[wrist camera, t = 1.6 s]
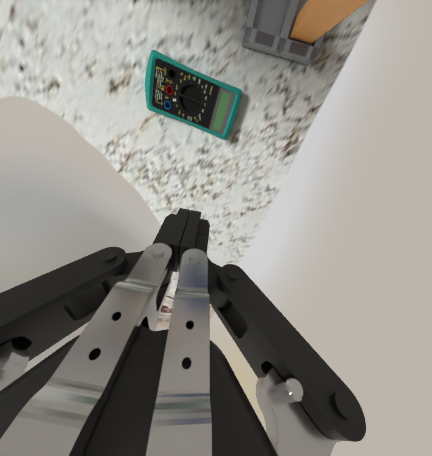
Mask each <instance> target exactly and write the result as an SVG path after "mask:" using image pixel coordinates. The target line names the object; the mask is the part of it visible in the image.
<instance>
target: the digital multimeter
mask: <svg viewBox="0 0 432 456" xmlns="http://www.w3.org/2000/svg"><path fill="white" fill-rule="evenodd" d="M160 59H161V60H160ZM171 64H172V65H171ZM182 69H183V70H182ZM154 71H155V72H154ZM153 83H154V84H153ZM145 92H146V101H147V108H148V109H149V110H150V111H153V112H156V113H159V114H162V115H165V116H168V117H171V118H173V119H176V120H179V121H182V122H184V123H187V124H189V125H192V126H194V127H196V128H199V129H201V130H204V131H206V132H208V133H210V134H212V135H215V136H217V137H219V138H221V139H223V140H225V139H227V137H228V135H229V132H230V130H231V127H232V125H233V122H234V119H235V117H236V114H237V110H238V107H239V103H240V99H241V96H242V91H241V90H240V89H238V88H236V87H233V86H231V85H228V84H225V83H223V82H220V81H218V80H215V79H213V78H211V77H208V76H206V75H204V74H201V73H199V72H197V71H195V70H193V69H191V68H189V67H187V66H185V65H183V64H180V63H178V62H176V61H174V60H172V59H171V58H169V57H167V56H165V55H163V54H161V53H159V52H157V51H155V50H152V51H151V54H150V57H149V61H148V65H147V70H146V77H145ZM152 95H153V96H152ZM235 96H236V97H235ZM234 99H235V100H234ZM162 110H163V111H162ZM167 112H168V113H167Z"/></svg>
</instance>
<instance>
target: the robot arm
mask: <svg viewBox="0 0 432 456" xmlns="http://www.w3.org/2000/svg"><path fill="white" fill-rule="evenodd" d="M200 217H201V212H199V211H193V210H191V212H190V210H188V209H182V208H179V211H178V213H177V215H175V214H170V215H169V216H167V217H166V218H165V220H164V222H163V224H162V226H161V228H160V230H159V233H158V234H157V236H156V238H155V240H154V242H153V244H152V245H150V246H149V247H147V248H146V249H145V250H144V251H141V252H135V253H125V251H124V250H123V249H121V248H119V247H108V248H105V249H102V250H100V251H98V252H95V253H93V254H91V255H88V256H86V257H84V258H81V259H79V260H77V261H74V262H72V263H70V264H67V265H65V266H63V267H60V268H58V269H56V270H53V271H51V272H49V273H46V274H44V275H42V276H39V277H37V278H35V279H32V280H30V281H28V282H25V283H23V284H21V285H18V286H16V287H14V288H11V289H9V290H7V291H4V292H2V293H0V456H330V454H331V451H332V449H333V447H334V445H335V443H336V442H340V441H356V442H357V441H360V440H362V439H363V437H364V435H365V432H366V423H365V417H364V414H363V411H362V409H361V407H360V404H359V402H358V401H357V399H356V397H355V396H354V394H353V393H352V392H351V390H350V389H349V388H348V387H347V386H346V385H345V384H344V382H343V381H342V380H341V379H340V378H339V377H338V376H337V375H336V374H335V373H334V371H333V370H332V369H331V368H330V367H329V366H328V365H327V364H326V362H325V361H324V360H323V359H322V358H321V357H320V356H319V355H318V354H317V352H316V351H315V350H314V349H313V348H312V347H311V346H310V345H309V343H308V342H307V341H306V340H305V339H304V338H303V337H302V336H301V335H300V333H299V332H298V331H297V330H296V329H295V328H294V327H293V326H292V325H291V323H290V322H289V321H288V320H287V319H286V318H285V317H284V316H283V315H282V313H281V312H280V311H279V310H278V309H277V308H276V307H275V306H274V305H273V304H272V302H271V301H270V300H269V299H268V298H267V297H266V296H265V295H264V293H262V291H261V290H260V289H259V288H258V287H257V286H256V285H255V283H254V282H253V281H252V280H251V279H250V278H249V277H248V276H247V275H246V273H245V272H244V271H243V270H242V269H241V268H240V267H238V266H236V265H233V264H227V265H224V266H223V267H220V266H218V265H216V264H214V263H212V262H211V261H210V260H209V258H208V257H207V245H208V237H209V228H210V225H209V223H208V220H203V219H200ZM178 267H179V270H178ZM177 271H178V273H179V277H178V283H177V289H176V291H175V296H174V301H173V307H172V313H171V318H170V324H169V329H167V330H161V331H155V329H156V326H157V322H158V317H159V314H160V311H161V308H162V306H163V303H164V300H165V298H166V295H167V293H168V290H169V287H170V285H171V277H172V273H173V272H177ZM210 304H211V305H212V307H213V309H214V310H215V312H216V313H217V315H218V317H219V318H220V320H221V321H222V323H223V324H224V326H225V327H226V329H227V330H228V332H229V334H230V335H231V337H232V338H233V340H234V341H235V343H236V344H237V346H238V348H239V349H240V351H241V352H242V354H243V355H244V357H245V358H246V360H247V362H248V363H249V365H250V366H251V368H252V369H253V371H254V372H255V374H256V375H257V377H258V381H257V384H256V397H257V401H258V404H259V406H260V408H261V411H262V413H263V415H264V418H265V423H266V431H265V430H264V428H263V426H262V424H261V422H260V421H259V419H258V417H257V415H256V413H255V411H254V409H253V407H252V405H251V404H250V402H249V400H248V398H247V396H246V394H245V393H244V391H243V389H242V387H241V385H240V383H239V381H238V380H237V378H236V376H235V374H234V372H233V370H232V368H231V367H230V365H229V363H228V361H227V359H226V357H225V356H224V354H223V353H222V351H221V350H220V349H219V348H218V347H217V346H216V345H215V344H214V343H213V342H212V341H211V340H210V338H209V337H210V322H209V321H210ZM89 321H90V322H89ZM87 322H89V323H88V325H87V326H86V328H85V329H84V331H83V332H82V333H81V334H80V335H79V336H77V337H75V338H74V339H72V340H71V341H69V342H68V343H66V344H65V345H63V346H62V347H61V348H59V349H58V350H56V351H55V352H54V353H52V354H51V355H50V356H48V357H47V358H45V359H44V360H43V361H41V362H40V363H38V364H37V365H36V366H34V367H33V368H31V369H30V370H29V371H27V372H26V373H25V368H26V366H27V364H28V361H30V360H31V359H33V358H34V357H36V356H38V355H39V354H41V353H42V352H44V351H45V350H47V349H48V348H50V347H51V346H53V345H54V344H55V343H57V342H59V341H60V340H62V339H63V338H65V337H66V336H68V335H69V334H71V333H72V332H74V331H75V330H77V329H78V328H80V327H81V326H83V325H84V324H86V323H87Z"/></svg>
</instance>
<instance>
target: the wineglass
mask: <svg viewBox="0 0 432 456" xmlns="http://www.w3.org/2000/svg"><path fill="white" fill-rule="evenodd" d="M178 277H179V274H178V273H177V272H173V273H172V277H171V284H172V280H178ZM170 288H171V285H170V287H169V290H168V293H167V295H166V298H165V300H164V303H163V306H162V308H161V311H160V314H159V315H160V316H171V313H172V307H173V301H174V296H173V295H172V294H171V293H170Z"/></svg>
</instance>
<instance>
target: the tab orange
mask: <svg viewBox="0 0 432 456" xmlns="http://www.w3.org/2000/svg"><path fill="white" fill-rule="evenodd" d="M367 1H369V0H308V1H307V2H306V4H305V5H304V6H303V7H302V9H301V10H300V11H299V13H298V14H297V16H296V19H295V22H294V25H293V28H292V32H291V35H290V38H291V39H294V40H297V41H301V42H304V43H307V44H311V43H313V42H314V41H315V40H317V39H318V38H319V37H321V36H322V35H323V34H325V33H326V32H327V31H329V30H330V29H331V28H333V27H334V26H335V25H337V24H338V23H339V22H341V21H342V20H343V19H345V18H346V17H347V16H349V15H350V14H351V13H353V12H354V11H355V10H357V9H358V8H359V7H361V6H362V5H363V4H365V3H366V2H367Z"/></svg>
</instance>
